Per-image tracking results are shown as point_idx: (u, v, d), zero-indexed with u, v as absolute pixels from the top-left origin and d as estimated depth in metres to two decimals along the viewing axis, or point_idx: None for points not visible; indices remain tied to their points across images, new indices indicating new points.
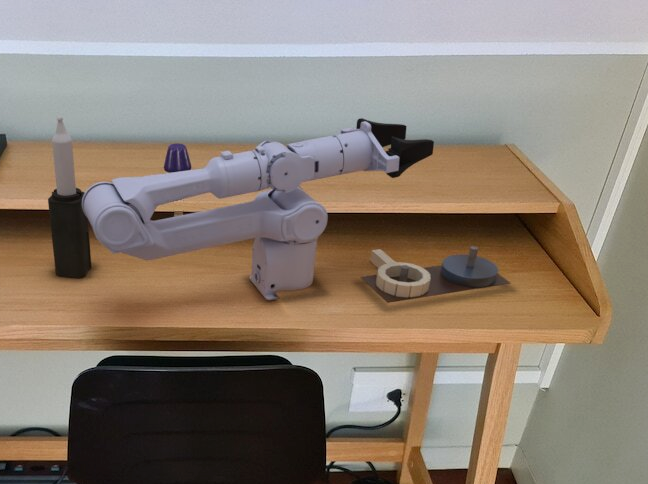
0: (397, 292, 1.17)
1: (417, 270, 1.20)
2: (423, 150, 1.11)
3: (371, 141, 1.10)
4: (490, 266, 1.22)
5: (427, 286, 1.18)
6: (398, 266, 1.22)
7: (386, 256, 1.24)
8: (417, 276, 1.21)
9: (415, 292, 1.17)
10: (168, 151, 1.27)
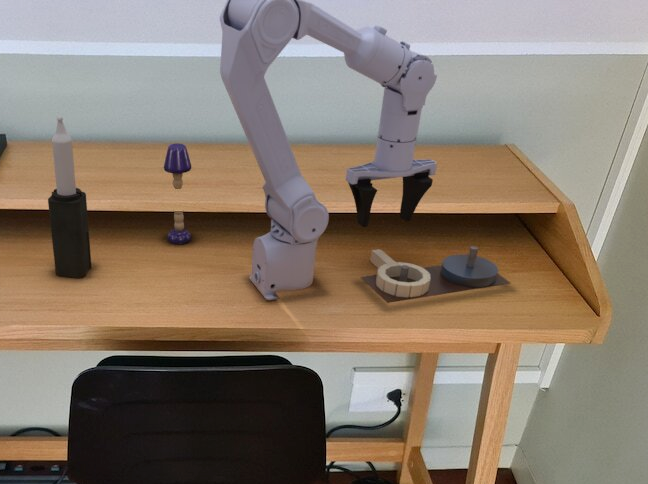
0: (397, 292, 1.17)
1: (417, 270, 1.20)
2: None
3: None
4: (490, 266, 1.22)
5: (427, 286, 1.18)
6: (398, 266, 1.22)
7: (386, 256, 1.24)
8: (417, 276, 1.21)
9: (415, 292, 1.17)
10: (168, 151, 1.27)
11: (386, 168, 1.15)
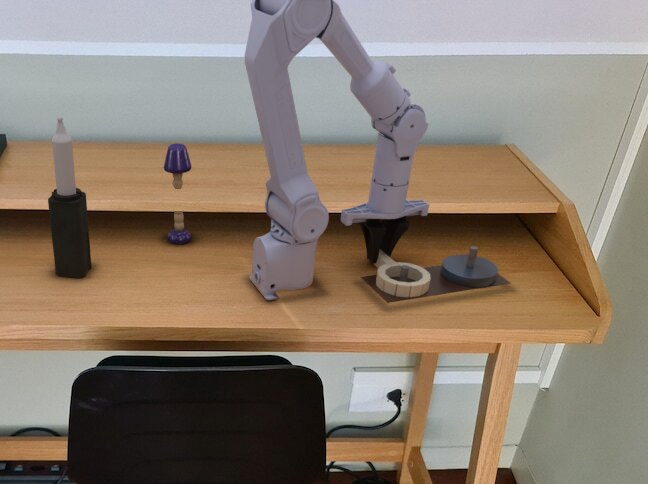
0: (397, 292, 1.17)
1: (417, 270, 1.20)
2: None
3: None
4: (490, 266, 1.22)
5: (427, 286, 1.18)
6: (398, 266, 1.22)
7: (386, 256, 1.24)
8: (417, 276, 1.21)
9: (415, 292, 1.17)
10: (168, 151, 1.27)
11: (379, 210, 1.19)
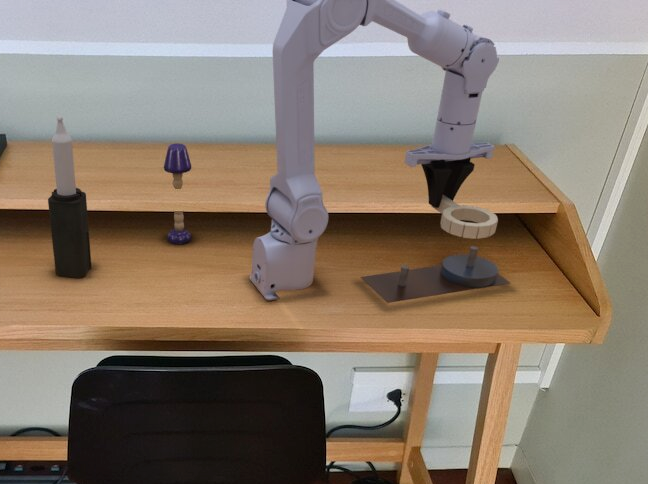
0: (464, 233, 1.15)
1: (483, 212, 1.18)
2: None
3: None
4: (490, 266, 1.22)
5: (494, 227, 1.15)
6: (463, 209, 1.19)
7: (449, 200, 1.22)
8: (482, 219, 1.18)
9: (483, 233, 1.14)
10: (168, 151, 1.27)
11: (445, 151, 1.16)
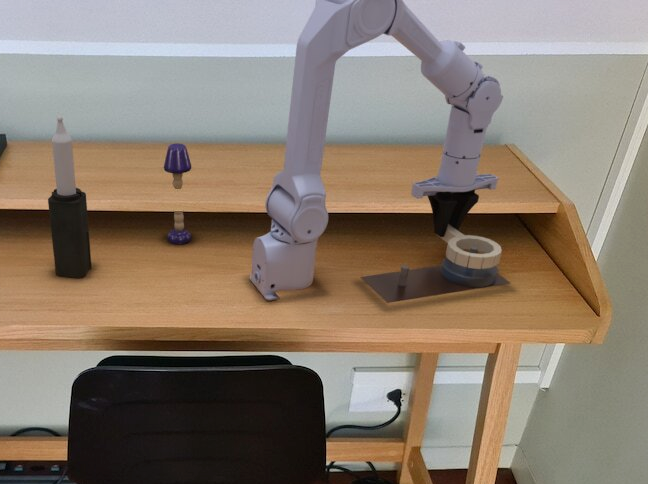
0: (469, 264, 1.18)
1: (487, 243, 1.22)
2: None
3: None
4: None
5: (498, 258, 1.19)
6: (467, 239, 1.23)
7: (454, 229, 1.25)
8: (487, 249, 1.22)
9: (487, 263, 1.18)
10: (168, 151, 1.27)
11: (451, 183, 1.20)
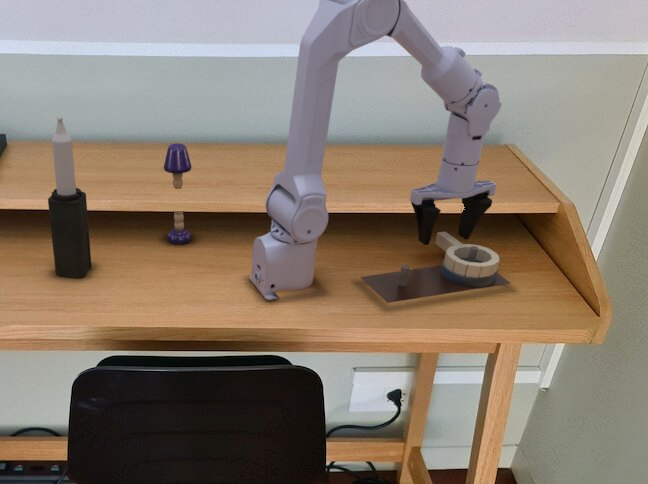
0: (467, 272, 1.19)
1: (485, 251, 1.23)
2: None
3: None
4: None
5: (496, 267, 1.20)
6: (465, 247, 1.24)
7: (452, 238, 1.26)
8: (485, 257, 1.23)
9: (485, 272, 1.19)
10: (168, 151, 1.27)
11: (449, 189, 1.21)
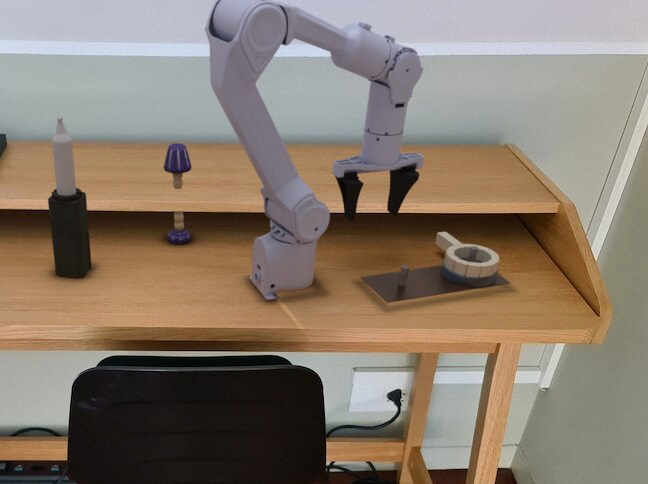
0: (467, 272, 1.19)
1: (485, 251, 1.23)
2: None
3: None
4: None
5: (496, 267, 1.20)
6: (465, 247, 1.24)
7: (452, 238, 1.26)
8: (485, 257, 1.23)
9: (485, 272, 1.19)
10: (168, 151, 1.27)
11: (372, 161, 1.15)
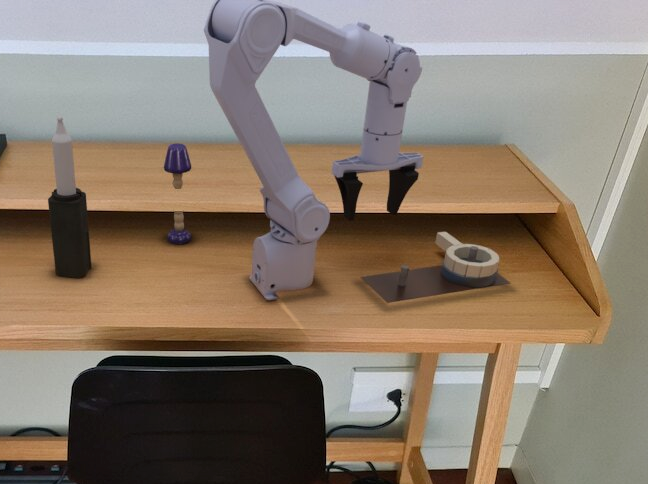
0: (467, 272, 1.19)
1: (485, 251, 1.23)
2: None
3: None
4: None
5: (496, 267, 1.20)
6: (465, 247, 1.24)
7: (452, 238, 1.26)
8: (485, 257, 1.23)
9: (485, 272, 1.19)
10: (168, 151, 1.27)
11: (372, 161, 1.15)
